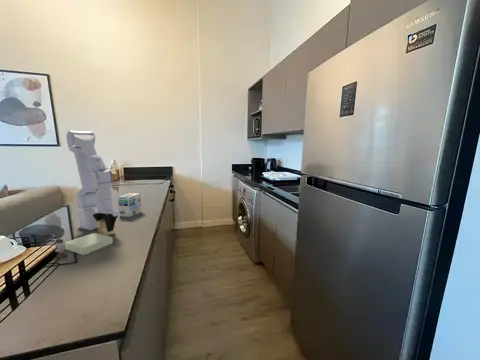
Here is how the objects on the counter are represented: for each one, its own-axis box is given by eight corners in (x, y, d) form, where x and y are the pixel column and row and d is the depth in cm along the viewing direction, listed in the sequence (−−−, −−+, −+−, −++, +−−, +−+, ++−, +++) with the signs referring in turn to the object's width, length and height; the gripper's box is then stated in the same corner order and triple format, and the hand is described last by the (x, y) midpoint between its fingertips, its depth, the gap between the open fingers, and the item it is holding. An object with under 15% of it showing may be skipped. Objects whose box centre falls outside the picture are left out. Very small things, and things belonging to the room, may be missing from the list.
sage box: (65, 250, 88) (64, 242, 87) (95, 239, 98) (94, 232, 97) (83, 256, 83) (83, 248, 83) (113, 244, 93) (112, 237, 92)
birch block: (98, 234, 102) (97, 221, 101) (108, 231, 106) (107, 218, 105) (105, 236, 100) (104, 222, 99) (115, 233, 104) (114, 219, 103)
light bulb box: (130, 217, 126) (128, 197, 124) (118, 216, 127) (117, 196, 126) (142, 211, 136) (141, 193, 135) (131, 211, 138) (130, 192, 136)
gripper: (83, 199, 100) (86, 230, 102) (106, 202, 94) (109, 236, 96) (100, 195, 106) (102, 225, 108) (122, 199, 100) (124, 230, 102)
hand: (106, 230), depth 102 cm, fingers closed on birch block, 4 cm apart
